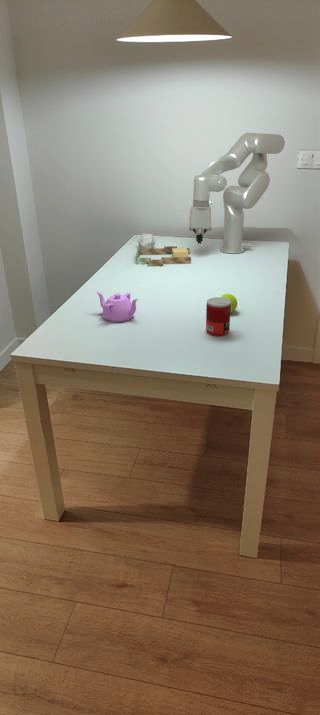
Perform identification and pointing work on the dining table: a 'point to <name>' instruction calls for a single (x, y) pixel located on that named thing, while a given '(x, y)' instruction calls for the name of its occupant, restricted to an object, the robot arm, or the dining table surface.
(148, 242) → the die
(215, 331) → the canned food
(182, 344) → the dining table surface
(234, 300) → the tennis ball
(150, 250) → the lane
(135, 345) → the dining table surface
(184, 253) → the block
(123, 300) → the teapot
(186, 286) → the dining table surface
